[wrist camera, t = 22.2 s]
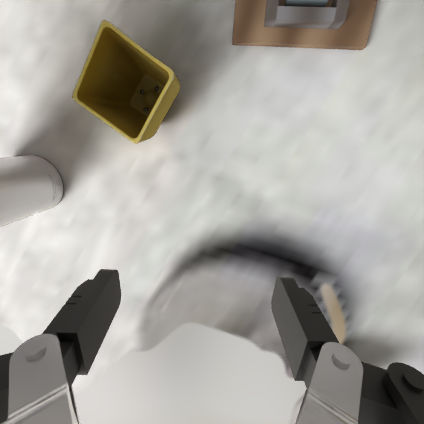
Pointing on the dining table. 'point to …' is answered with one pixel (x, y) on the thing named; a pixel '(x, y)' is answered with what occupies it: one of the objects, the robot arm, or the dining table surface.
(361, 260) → the dining table surface
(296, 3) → the keyed plug
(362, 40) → the keyed seat
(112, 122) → the flower pot
